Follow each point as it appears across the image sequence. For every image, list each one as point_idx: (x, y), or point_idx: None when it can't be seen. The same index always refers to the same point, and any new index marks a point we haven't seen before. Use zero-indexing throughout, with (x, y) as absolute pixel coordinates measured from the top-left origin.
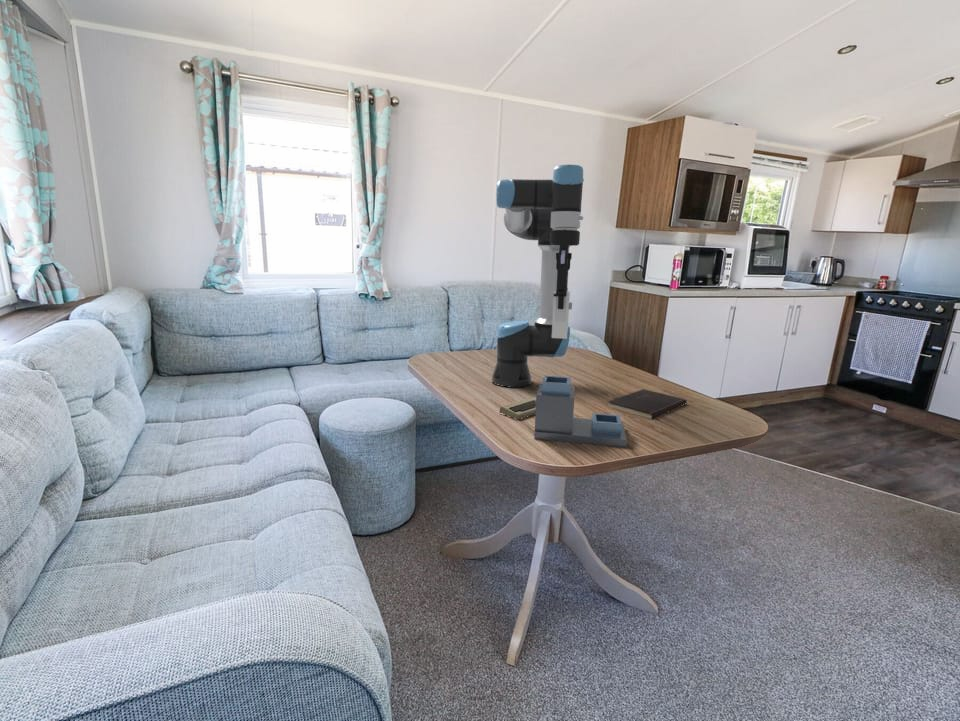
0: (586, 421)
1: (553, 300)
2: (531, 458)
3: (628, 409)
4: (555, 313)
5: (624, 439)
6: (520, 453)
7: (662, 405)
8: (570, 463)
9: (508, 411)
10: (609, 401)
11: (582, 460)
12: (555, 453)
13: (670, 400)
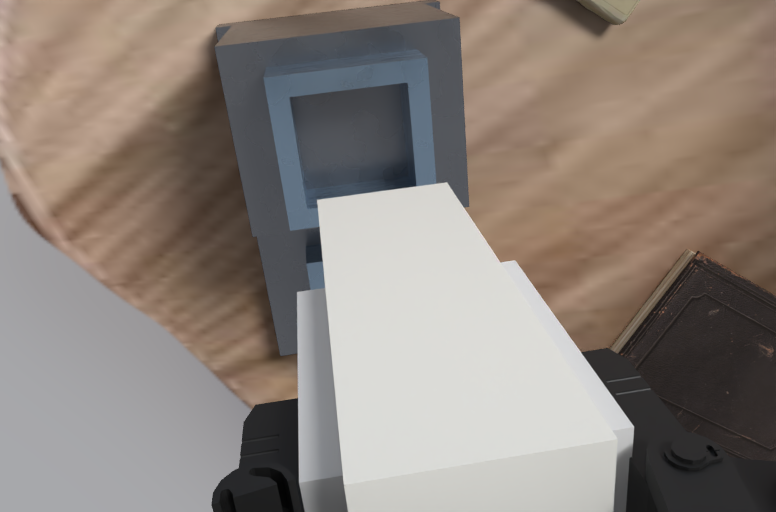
0: None
1: (336, 398)
2: (17, 57)
3: (638, 325)
4: (298, 339)
5: (281, 349)
6: (40, 3)
7: (684, 426)
8: (53, 199)
9: None
10: (702, 260)
11: (100, 232)
12: (112, 135)
13: (746, 445)
